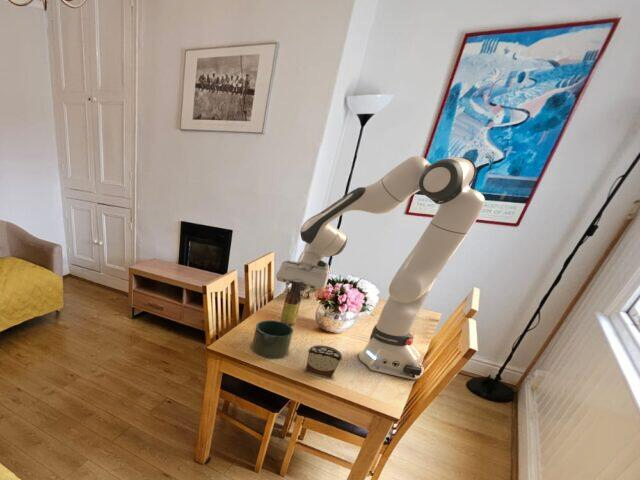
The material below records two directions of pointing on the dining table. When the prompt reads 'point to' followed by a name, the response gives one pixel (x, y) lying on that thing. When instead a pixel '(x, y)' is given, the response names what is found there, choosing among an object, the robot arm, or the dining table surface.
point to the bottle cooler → (272, 339)
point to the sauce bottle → (292, 303)
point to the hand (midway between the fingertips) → (293, 293)
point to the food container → (323, 360)
